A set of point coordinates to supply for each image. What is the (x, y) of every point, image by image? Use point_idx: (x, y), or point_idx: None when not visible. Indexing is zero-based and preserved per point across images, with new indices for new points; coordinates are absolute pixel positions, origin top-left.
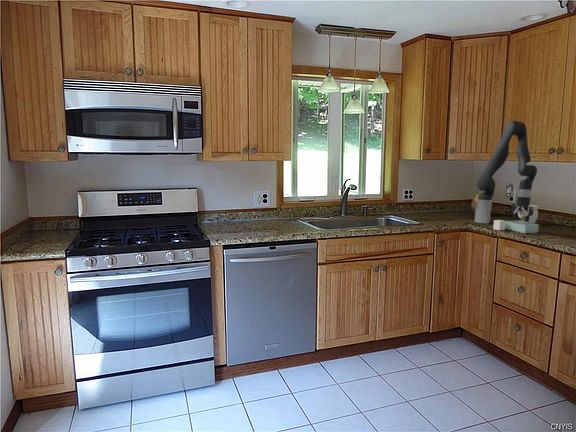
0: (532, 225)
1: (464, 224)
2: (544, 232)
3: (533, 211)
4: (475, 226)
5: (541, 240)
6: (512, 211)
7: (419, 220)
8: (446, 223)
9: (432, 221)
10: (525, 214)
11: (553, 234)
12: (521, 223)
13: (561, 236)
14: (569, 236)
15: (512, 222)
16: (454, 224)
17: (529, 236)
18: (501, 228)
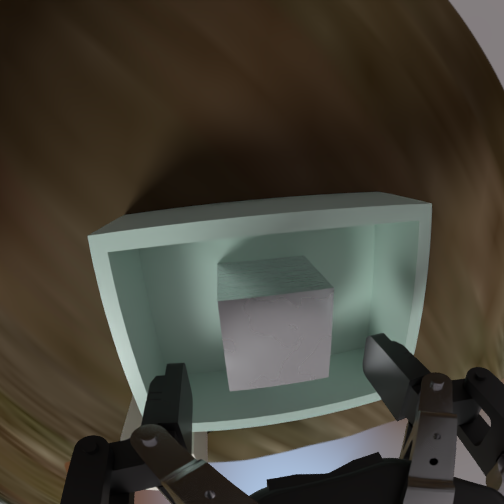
0: (419, 306)
1: (25, 453)
2: (369, 96)
3: None
4: (71, 455)
5: (490, 364)
6: (128, 489)
7: (4, 497)
8: (29, 486)
9: (5, 486)
10: (405, 440)
11: (444, 112)
12: (323, 374)
13: (492, 134)
14: (493, 79)
15: (238, 420)
16: (43, 482)
17: (429, 368)
18: (204, 431)
